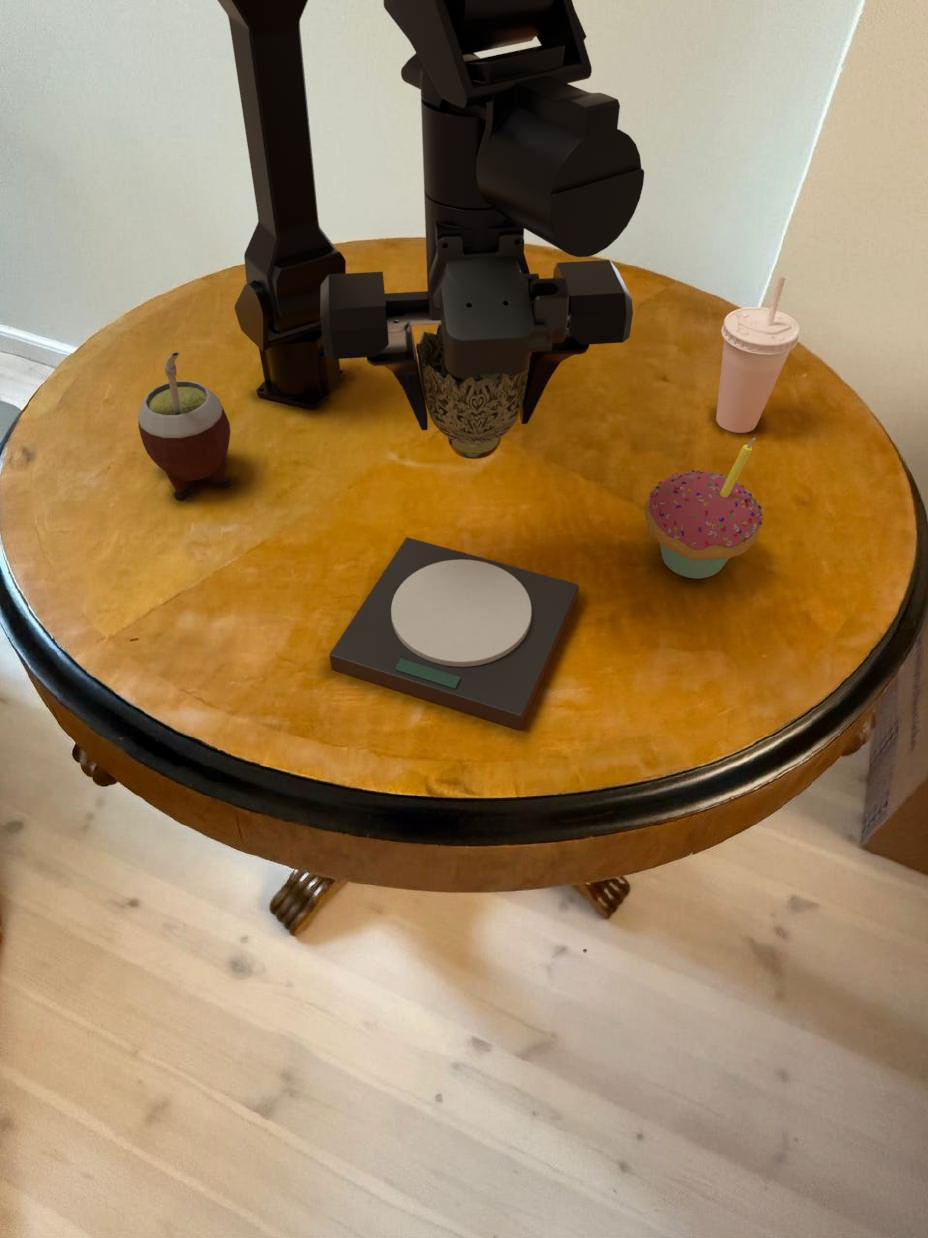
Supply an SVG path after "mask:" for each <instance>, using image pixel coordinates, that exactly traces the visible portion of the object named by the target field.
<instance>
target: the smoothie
mask: <svg viewBox="0 0 928 1238" xmlns="http://www.w3.org/2000/svg"><path fill="white" fill-rule="evenodd" d="M786 278H787V276H786V275H784V274H779V275H778V278H777V282H776V285H775V288H774V293H773V296H772V300H771V303H770V307H769V308H768V307H762V306H761V307H760V306H749V307H747V306H746V307H742V308H738V309H735V310H733V311H731V312H729V313H728V314H727V315H725V317H724V321H723V324H722V327H721V332H720V333H721V336H722V338H723V346H722V357H721V367H720V368H721V369H720V376H719V377H720V378H719V387H718V397H717V406H716V416H715V420H716V423H717V425H718V426H719V427H721V429H724V430H726V431H727V432H731V433H737V434H744V433H749V432H752V431H754V429H755V428H756V427H757V425H758V423H759V421H760V418H761V416H762V414H763V411H764V410H765V408H766V406H767V403H768V402H769V399H770V396H771V394H772V392H773V390H774V387H775V385H776V383H777V381H778V378H779V376H780V374H781V372H782V370H783V368H784V365H785V364H786V361H787V359H788V357H789V354H790V352H791V350H793V349H795V347H796V346H797V344H798V342H799V337H800V335H801V329H800V325H799V324H798V323H797V321H795V319H794V318H792V317H791V316H790V315H788V314H786V313H784V312H783V311H782V312H781V311H779V310H778V306H779V304H780V303H779V302H780V300H781V296H782V293H783V290H784V285H785V281H786Z"/></svg>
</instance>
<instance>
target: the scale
mask: <svg viewBox="0 0 928 1238" xmlns="http://www.w3.org/2000/svg"><path fill="white" fill-rule="evenodd" d="M579 590H580V584H579V583H575V582H571V581H568V580H566V579H565V580H564V579H560V578H558V577H554V576H550V575H546V574H543V573H539V572H535V571H532V570H528V569H525V568H521V567H518V566H514V565H510V564H506V563H503V562H499V561H495V560H491V559H488V558H484V557H481V556H477V555H474V554H471V553H466V552H463V551H459V550H456V549H452V548H448V547H444V546H441V545H438V544H433V543H430V542H426V541H424V540H423V541H422V540H420V539H416V538H411V537H408V536H406V538H405V539H404V541H403V542H402V544H400V546H399V548H398V550H397V551H396V552H395V554H394V555H393V557H392V558H391V560H390V562H389V563H388V564H387V566H386V568H385V569H384V571H383V573H381V575H380V577H379V579H378V580H377V581H376V582H375V584H374V586H373V587H372V589H371V590H370V592H369V594H368V595H367V596H366V598H365V600H364V601H363V602H362V604H361V606H360V607H359V609H358V610H357V612H356V613H355V615H354V616H353V618H352V619H351V621H350V623H348V625H347V627H346V629H344V631H343V633H342V635H341V636H340V637H339V639H338V640H337V643H336V644H335V645H334V647H333V648H332V650H331V651H330V653H329V655H328V656H329V662H330V667H331V670H333V671H336V672H339V673H342V674H344V675H348V676H352V677H353V678H357V679H361V680H364V681H366V682H370V683H372V684H376V685H379V686H382V687H384V688H388V689H392V690H395V691H397V692H401V693H404V694H407V695H410V696H413V697H416V698H418V699H419V698H420V699H423V700H426V701H428V702H432V703H435V704H437V705H440V706H444V707H448V708H450V709H453V710H457V711H458V712H459V711H460V712H463V713H466V714H469V715H472V716H475V717H478V718H481V719H484V720H487V721H491V722H494V723H497V724H499V725H503V726H506V727H509V728H512V729H515V730H518V731H520V730H522V727H523V726H524V723H525V721H526V719H527V716H528V714H529V712H530V709H531V707H532V704H533V702H534V700H535V697H536V695H537V693H538V691H539V689H540V686H541V684H542V682H543V679H544V677H545V674H546V672H547V670H548V668H549V665H550V663H551V660H552V659H553V656H554V654H555V652H556V649H557V647H558V645H559V642H560V640H561V638H562V635H563V633H564V631H565V629H566V626H567V624H568V622H569V619H570V617H571V615H572V612H573V611H574V608H575V605H576V603H577V601H578V596H579Z"/></svg>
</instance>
